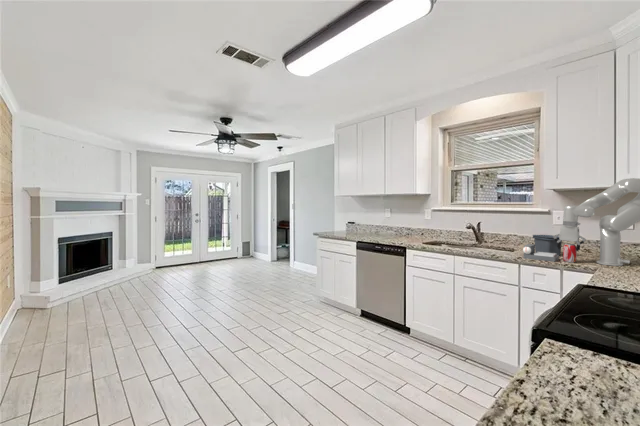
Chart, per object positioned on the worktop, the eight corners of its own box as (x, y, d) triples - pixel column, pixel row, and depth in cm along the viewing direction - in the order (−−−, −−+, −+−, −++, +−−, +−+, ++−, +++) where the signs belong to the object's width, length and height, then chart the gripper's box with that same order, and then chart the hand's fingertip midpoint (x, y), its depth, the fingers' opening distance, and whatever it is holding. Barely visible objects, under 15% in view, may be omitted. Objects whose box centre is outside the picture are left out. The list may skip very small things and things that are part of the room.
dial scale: (558, 259, 216) (558, 246, 216) (554, 261, 207) (554, 248, 207) (527, 255, 230) (527, 243, 230) (522, 258, 221) (522, 245, 220)
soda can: (576, 263, 202) (576, 245, 201) (562, 262, 206) (562, 244, 206) (576, 261, 207) (577, 244, 206) (563, 260, 212) (563, 243, 211)
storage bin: (529, 252, 247) (530, 234, 246) (550, 252, 245) (550, 234, 245) (546, 256, 225) (547, 237, 225) (569, 257, 224) (569, 237, 223)
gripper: (587, 225, 202) (585, 251, 203) (555, 222, 214) (553, 247, 215) (586, 225, 197) (584, 252, 198) (552, 223, 209) (551, 248, 210)
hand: (568, 249), depth 207 cm, fingers open, 9 cm apart
